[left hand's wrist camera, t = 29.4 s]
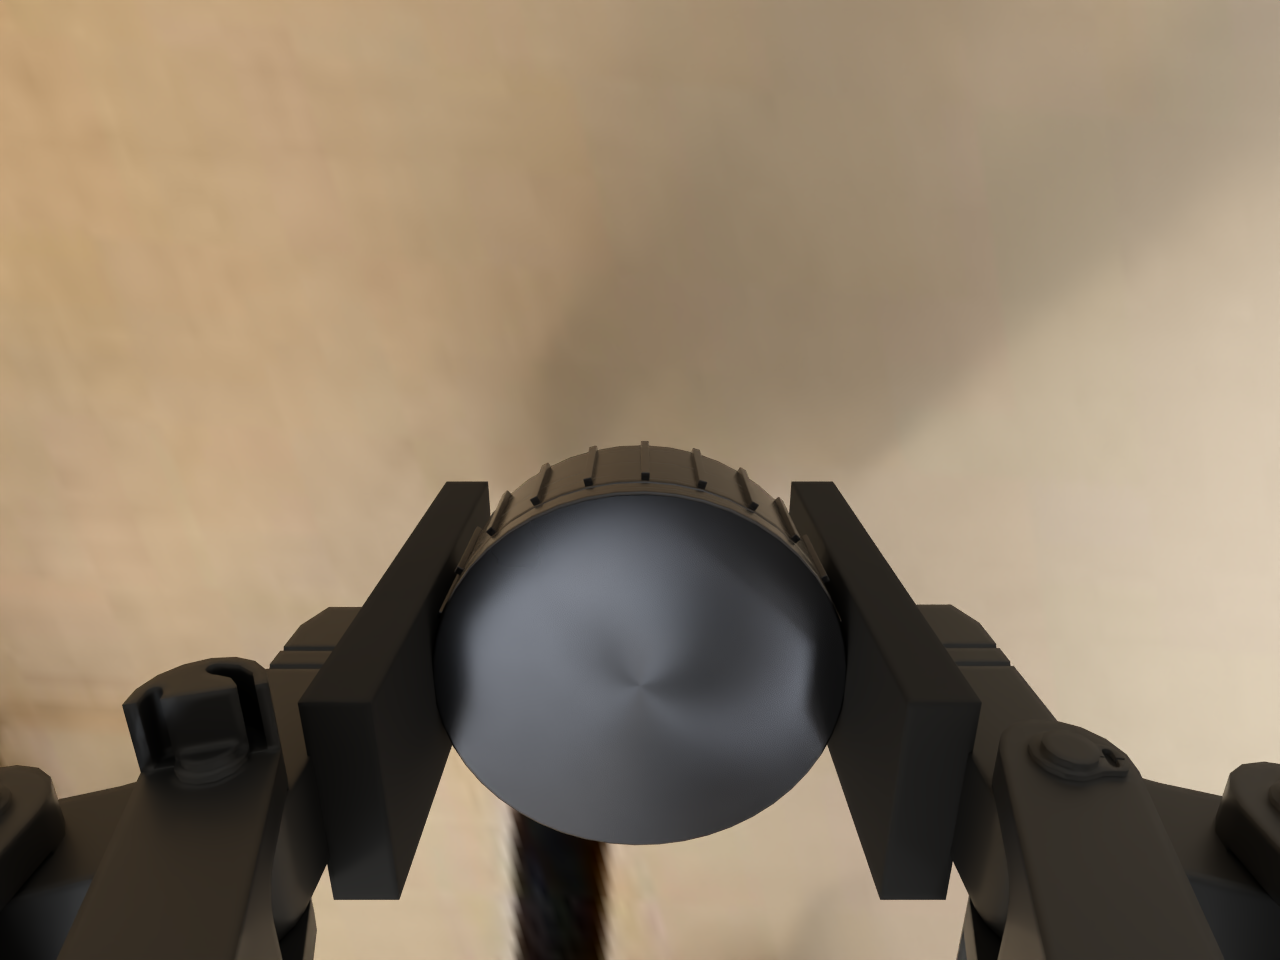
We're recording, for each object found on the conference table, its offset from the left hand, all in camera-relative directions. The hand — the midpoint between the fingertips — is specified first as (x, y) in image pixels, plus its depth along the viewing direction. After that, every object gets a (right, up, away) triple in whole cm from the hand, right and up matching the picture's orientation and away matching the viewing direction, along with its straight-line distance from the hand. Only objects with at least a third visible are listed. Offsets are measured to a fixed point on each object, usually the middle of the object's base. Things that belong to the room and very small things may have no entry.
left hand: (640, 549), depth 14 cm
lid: (0, -1, -4) cm, 4 cm away
